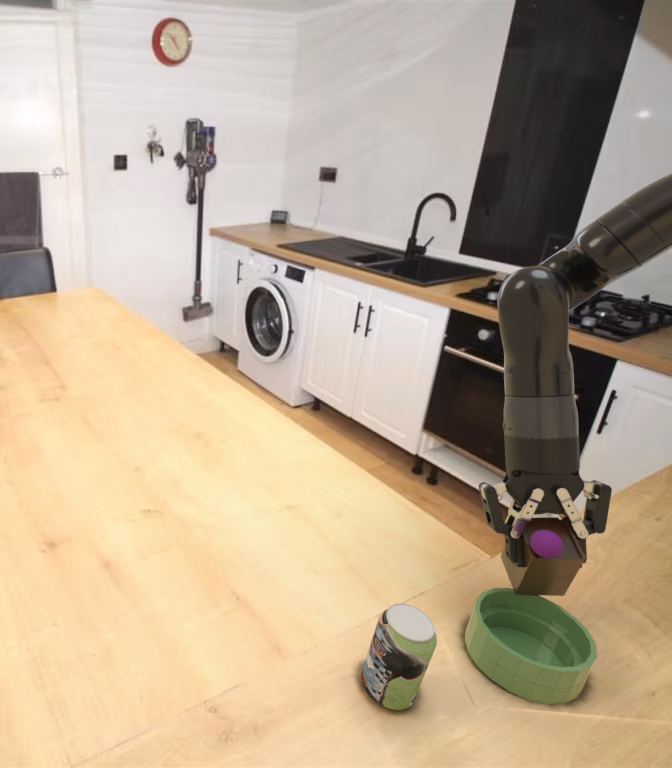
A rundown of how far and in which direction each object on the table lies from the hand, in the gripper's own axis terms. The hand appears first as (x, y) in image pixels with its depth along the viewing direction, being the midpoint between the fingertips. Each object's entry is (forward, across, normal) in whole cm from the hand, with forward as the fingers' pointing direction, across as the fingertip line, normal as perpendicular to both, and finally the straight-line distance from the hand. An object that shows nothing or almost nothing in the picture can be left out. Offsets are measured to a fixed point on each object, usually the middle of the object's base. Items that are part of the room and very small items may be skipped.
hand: (545, 564), depth 67 cm
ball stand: (+3, 0, +4) cm, 5 cm away
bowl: (+12, -4, -1) cm, 13 cm away
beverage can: (+13, -20, -9) cm, 26 cm away
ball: (-4, -1, -4) cm, 6 cm away
